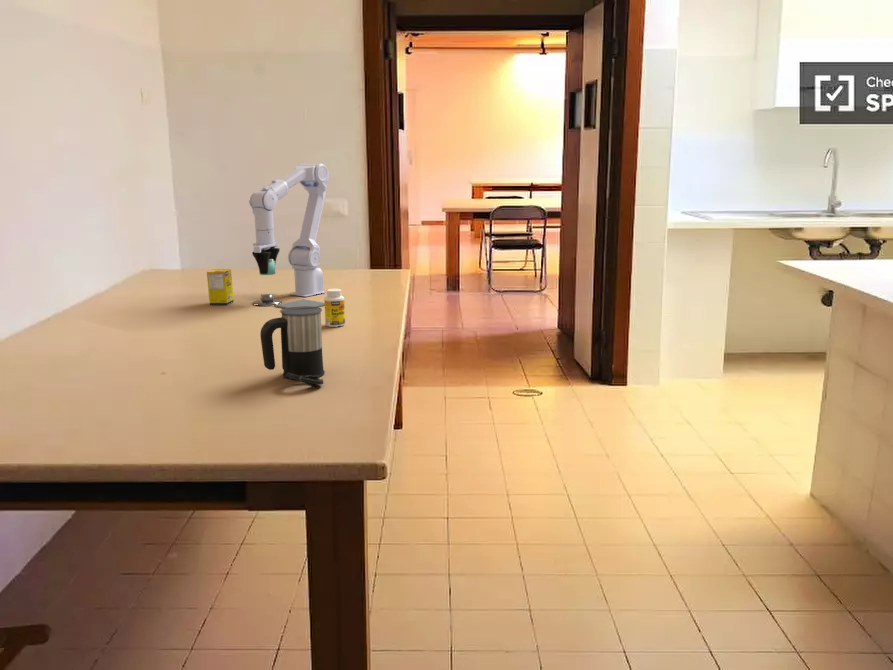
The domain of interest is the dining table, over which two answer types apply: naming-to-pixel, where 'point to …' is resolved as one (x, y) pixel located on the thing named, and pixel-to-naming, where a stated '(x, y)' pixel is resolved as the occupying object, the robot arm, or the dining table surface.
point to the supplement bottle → (334, 308)
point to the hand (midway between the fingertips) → (267, 272)
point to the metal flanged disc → (267, 300)
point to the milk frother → (296, 344)
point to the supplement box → (220, 286)
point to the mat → (301, 304)
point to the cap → (270, 268)
